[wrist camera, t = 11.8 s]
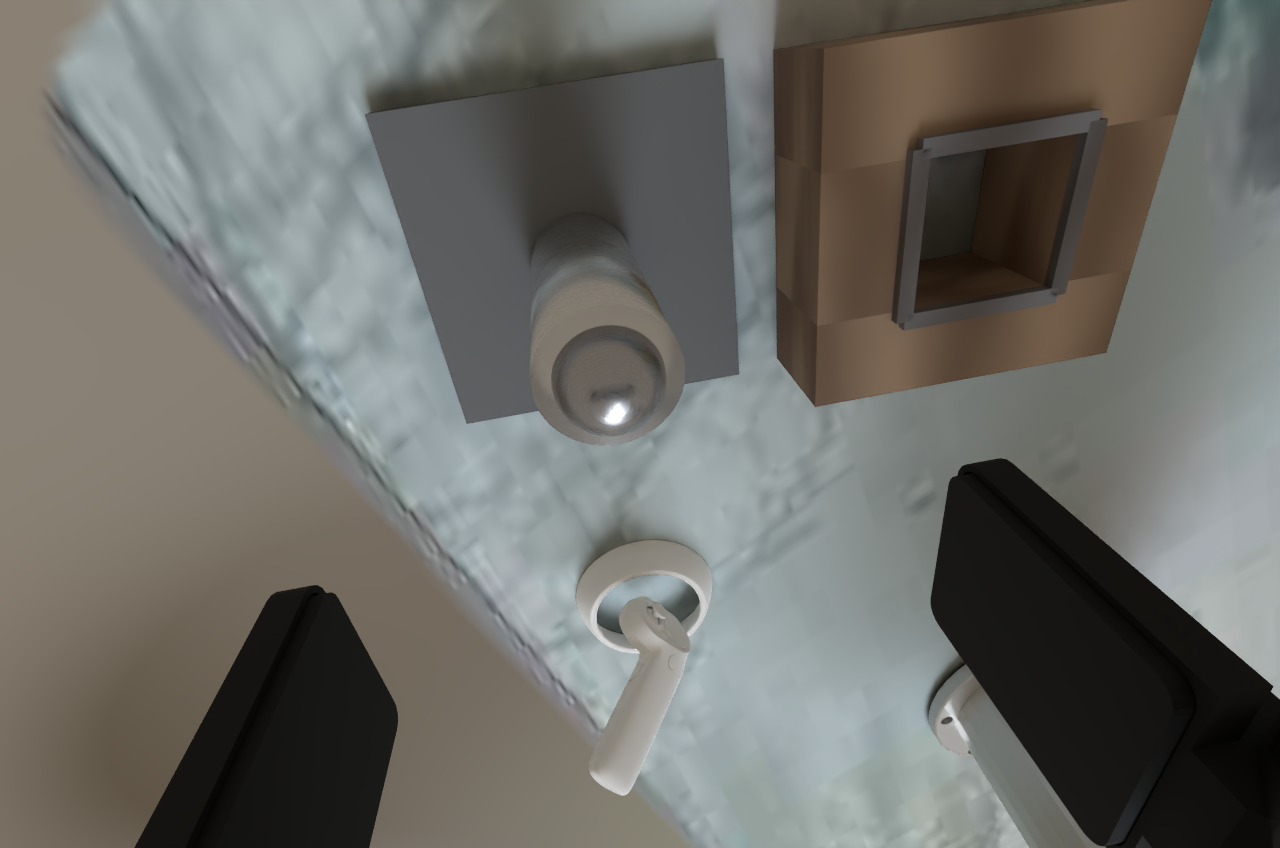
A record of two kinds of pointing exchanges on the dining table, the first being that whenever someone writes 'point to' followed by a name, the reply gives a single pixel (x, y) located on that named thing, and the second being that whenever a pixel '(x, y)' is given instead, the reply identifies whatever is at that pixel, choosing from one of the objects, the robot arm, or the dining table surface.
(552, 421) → the steel peg
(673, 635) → the white ring with handle
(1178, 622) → the robot arm
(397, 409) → the dining table surface
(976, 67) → the block
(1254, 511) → the dining table surface
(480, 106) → the mat
